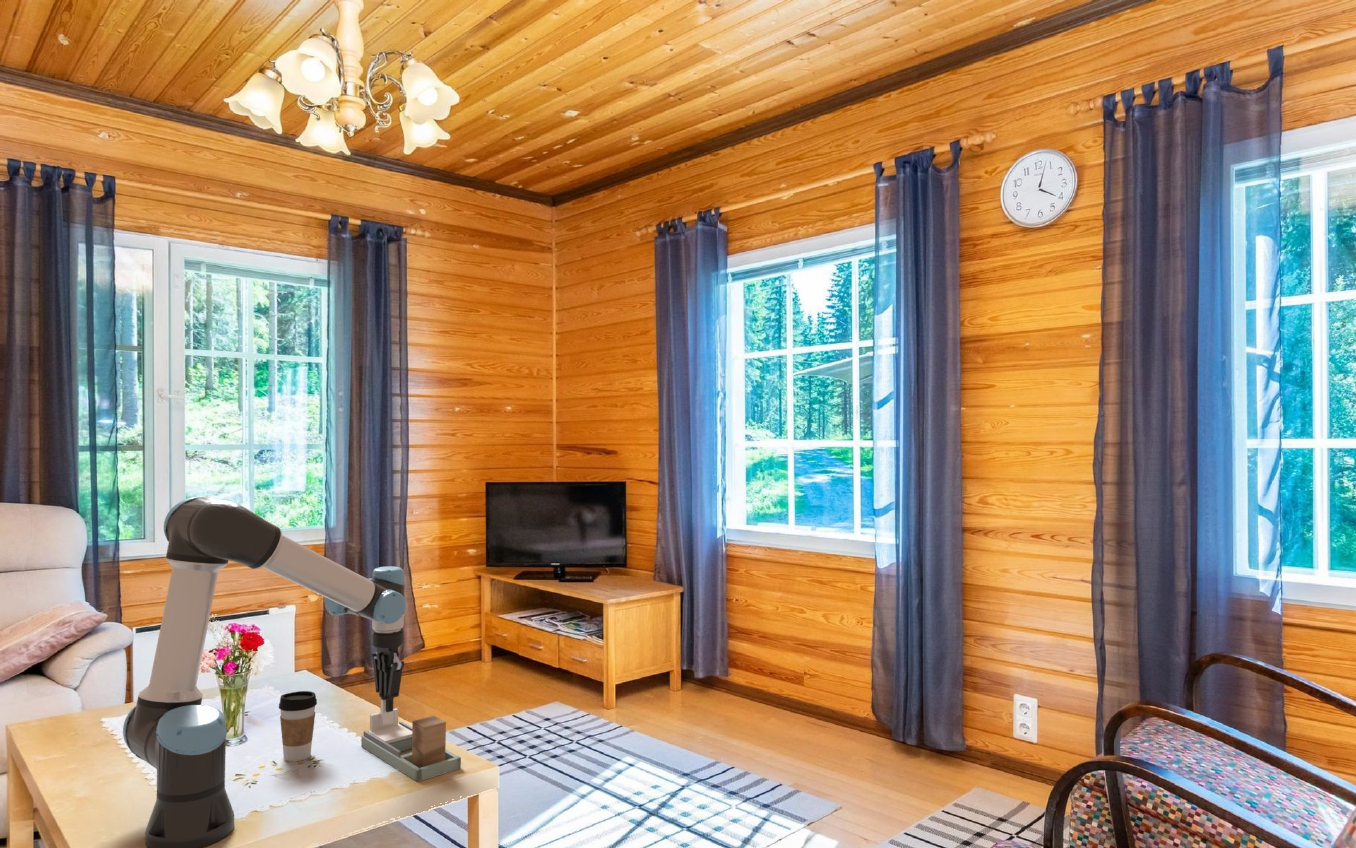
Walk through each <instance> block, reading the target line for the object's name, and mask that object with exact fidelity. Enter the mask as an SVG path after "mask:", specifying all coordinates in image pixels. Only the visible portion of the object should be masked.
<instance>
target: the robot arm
mask: <svg viewBox="0 0 1356 848" xmlns="http://www.w3.org/2000/svg"><path fill="white" fill-rule="evenodd" d="M163 534H164V536H165V538H166V540H167V542H168V544H167V549H166V556H165V561H166V562H167V563H168V564H169V565H170V566H171V573H170V578H169V583H168V586H167V587H168V589H167V593H166V597H165V603H164V609H163V613H162V617H161V618H162V620H161V623H160V629H159V633H158V639H157V643H156V649H155V654H154V658H153V659H154V660H153V664H152V668H151V674H150V680H149V683H148V686H147V687H144V689H142V690H141V691H140V692H138V695H137V696H138V697H137V699H136V705H134V707H133V708H131V709H130V711H129V712H128V713H127V716H126V717H125V720H124V723H123V726H122V737H123V740H124V743H125V744H126V746H127V747H128V750H130V752H131V753H132V754H134V756H135V757H137V758H138V759H140V760H143V761H145V762H146V763H147V764H149V765H150V766H152V767H153V768H155V769H156V798H155V803H154V806H153V808H152V812H151V814H150V817H149V818H148V819H149V820H148V823H147V826H146V828H145V838H144V840H145V841H144V843H145V846H146V847H147V848H204V847H207V846H209V845H211V844H214V843H217V842H219V841H220V840H222V839H224V838H226V837H227V836H229V835H230V834H231V832H232V831H233V830H234V827H235V812H234V808H233V807H232V804H231V801H230V799H229V796H228V793H227V791H226V754H227V753H226V749H227V747H226V745H227V744H226V742H227V741H226V740H227V734H228V733H227V732H228V731H227V730H228V729H227V725H226V717H225V715H224V713H223V712H222V711H221V710H220V709H219V708H216V707H214V706H210V705H205V706H203V705H202V701H203V693H202V692H201V691H200V690H199V688H198V686H197V684H198V679H199V675H200V674H199V673H200V669H201V664H202V658H203V653H204V647H205V642H206V637H207V632H208V629H209V623H210V616H211V611H212V605H213V602H214V601H213V600H214V595H215V591H216V585H217V580H218V576H219V575H218V574H219V572H220V571H221V570H222V569H224V568H225V567H227V566H228V565H229V562H232V563H233V562H234V563H237V564H241V565H243V566H245V567H248V568H250V569H252V570H258V569H261V568H262V569H264V570H266V571H268V572H270V573H272V574H275V575H277V576H279V577H281V578H282V579H285V580H287V581H290V582H291V583H294V584H296V585H298V586H300V587H302V588H303V589H306V590H308V591H311V592H312V593H315V594H317V595H319V596H322V597H323V598H324V599H323V600H324V607H325V609H326V611H327V613H328V614H329V615H331V616H344V615H348V614H351V615H354V616H358V617H361V618H366V619H369V620H371V628H372V630H373V631H371V645H372V647H373V648H376V651H375V652H372V653H371V660H372V663H373V674H374V675H373V676H374V686H375V687H374V688H375V692H376V693H377V694H378V696H379V698H380V724H381V725H387V724H391V723H393V709H394V702H395V701H394V700H395V699H394V698H398V697H399V696H400V690H401V682H402V681H401V680H402V673H403V669H404V666H405V662H404V660H400V658H399V657H400V653H399V647H401V646H402V645H404V643H405V642H404V639H405V638H404V636H405V635H404V633H405V632H404V629H403V627H404V626H405V624H404V623H405V620H404V618H405V616H406V615H405V612H406V609H407V608H406V607H407V603H406V598H405V587H406V583H405V581H406V580H405V579H406V578H405V572H404V571H405V570H404V569H403V568H402V567H400V566H394V565H393V566H390V565H389V566H380V567H379V566H378V567H376V568H374V569H373V571H372V574H371V575H372V576H371V577H369V578H367V577H365V576H363V575H360V574H359V573H357V572H355V571H353V570H351V569H350V568H348V567H346V566H343V565H341V564H339V563H337V562H336V561H334V560H332V559H329V558H328V557H326V556H323V555H322V554H320V553H318V552H316V551H314V550H312V549H310V548H308V547H306V546H305V545H303V544H300V543H298V542H296V541H295V540H292V539H291V538H289V537H288V536H287V537H286V536H285V535H283V533H282V529H281V528H280V527H278V526H277V525H274V524H273V523H272V522H269V521H268V520H266V519H264V518H262V517H261V516H259V515H258V514H257V513H254V512H253V511H251V510H249V509H248V508H247V507H244V506H242V505H241V504H239V503H237V502H233V501H230V500H223V499H218V498H215V497H210V496H194V497H188V498H186V499H182V500H181V501H179V502H178V503H177V504H175V505H174V506H173V507H171V508H170V510H169V511H168V512H167V514H166V516H165V519H164V521H163Z"/></svg>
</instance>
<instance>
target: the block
mask: <svg viewBox="0 0 1356 848" xmlns="http://www.w3.org/2000/svg"><path fill="white" fill-rule="evenodd" d="M411 724H412V726H411V727H412V749H411V752H412V764H413V765H415V766H417V767H418V768H421V767H425V766H428V765H431V764H435V763H438V762H441V761H445V749H446V746H447V745H446V743H447V742H446V736H447V735H446V734H447V733H446V732H447V721H445V720H443V719H441V718H440V717H437V716H436V715H431V716H428V717H423V718H419V719H417V720H416V719H415V720H412V723H411Z"/></svg>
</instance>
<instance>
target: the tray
mask: <svg viewBox="0 0 1356 848" xmlns="http://www.w3.org/2000/svg"><path fill="white" fill-rule="evenodd" d="M398 724H400V725H402V726H404V727H405V728H407V729H409V730H411V731H412V726H410V725H409V724H407V723H405V722H403V721H398ZM368 731H369V730H363V732H362V733H363V736H361V740H360V741H361V744H360V745H361V746H360V747H362V748H363V749H364V750H366V749H367V750H366V751H367V752H369V751H370V753H371V754H373V755H374V756H376V757H378V758H379V759H380V760H382V761H383V762H385V763H387V764H389V765H390V766H392V767H394V768H395V769H397V770H398V771H400V772H401V773H403V774H404V775H406V776H408V777H409V778H411V779H412V780H414V781H415V782H420V781H424V779H425V780H428V779H430V778H433V777H436V776H440V775H444V774H446V773H450V772H453V771H457V770H460V769H462V767H461V765H462V764H461V763H462V760H461V759H462V757H460V756H458V755H457V754H456V753H453V752H451V751H449V750H448V749H446V748H445V761H441V762H438V763H435V764H431V765H428V766H425V767H421V768H418V767H417V766H415V765H413V764H412V751H411V752H408V753H405V754H401V753H402V752H405V751H407V750H412V737H411V738H407V739H404V740H400V741H396V742H393V743H389V744H388V743H386V742H384V741H383V740H381V739H379V738H378V737H376V736H374V735H373V734H371V733H369V732H368Z"/></svg>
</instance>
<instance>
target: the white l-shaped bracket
mask: <svg viewBox="0 0 1356 848" xmlns="http://www.w3.org/2000/svg"><path fill="white" fill-rule="evenodd" d="M367 731H368V732H369V733H371V734H373V735H374V736H376V737H378V738H379V739H381V740H383V741H384V742H386V743H388V744H389V743H393V742H396V741H400V740H404V739H407V738H411V737H412V731H411V730H409V729H407V728H405V727H404V726H402V725H400V724H399V708H398V707H396V708H393V723H391V724H387V725H381V724H380V712H375V713H371V714H370V715H369V730H367Z"/></svg>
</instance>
